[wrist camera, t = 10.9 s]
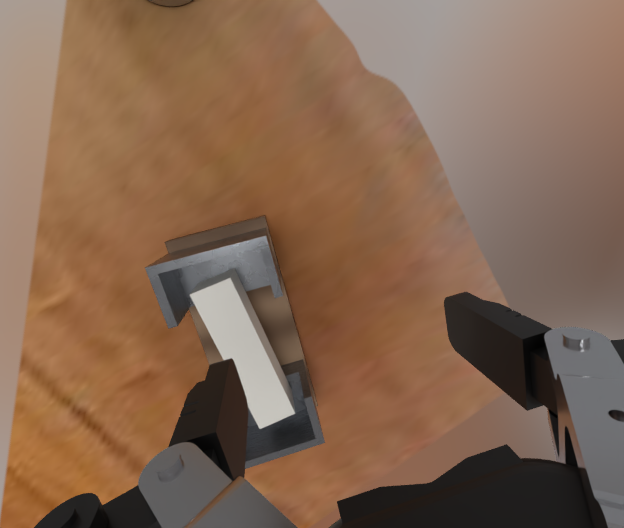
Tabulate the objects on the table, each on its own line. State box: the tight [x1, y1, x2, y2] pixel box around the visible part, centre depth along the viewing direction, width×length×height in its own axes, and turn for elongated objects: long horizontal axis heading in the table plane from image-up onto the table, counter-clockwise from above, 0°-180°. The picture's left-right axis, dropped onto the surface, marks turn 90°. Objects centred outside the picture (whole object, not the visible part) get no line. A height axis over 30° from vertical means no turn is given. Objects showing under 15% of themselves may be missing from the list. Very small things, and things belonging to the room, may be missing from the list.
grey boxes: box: [145, 228, 325, 469], centre depth 34 cm, size 23×11×8 cm, turn 14°
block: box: [190, 268, 295, 429], centre depth 33 cm, size 16×4×4 cm, turn 21°
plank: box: [165, 215, 318, 406], centre depth 38 cm, size 25×11×2 cm, turn 14°
